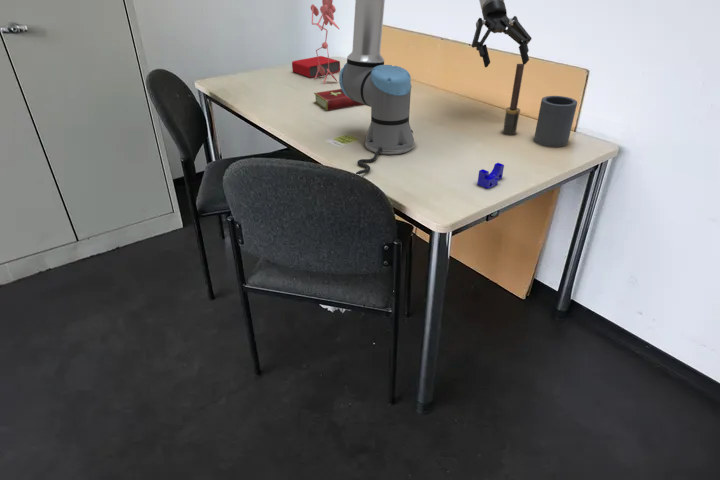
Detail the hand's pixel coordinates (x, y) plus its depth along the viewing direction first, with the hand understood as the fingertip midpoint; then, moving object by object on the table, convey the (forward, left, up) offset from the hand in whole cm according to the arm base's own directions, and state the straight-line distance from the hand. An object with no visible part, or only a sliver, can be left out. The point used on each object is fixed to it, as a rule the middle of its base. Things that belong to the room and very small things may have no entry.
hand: (507, 63), depth 156 cm
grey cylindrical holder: (-11, -17, -20) cm, 29 cm away
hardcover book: (+9, +59, -20) cm, 63 cm away
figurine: (+41, +76, -20) cm, 89 cm away
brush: (-7, -4, -20) cm, 22 cm away
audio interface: (+50, +88, -18) cm, 103 cm away
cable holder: (-47, -2, -20) cm, 51 cm away
